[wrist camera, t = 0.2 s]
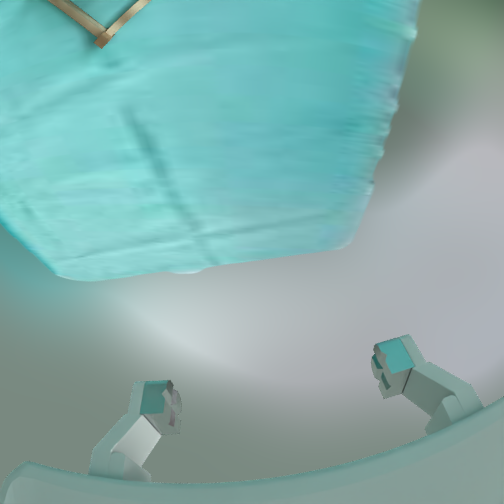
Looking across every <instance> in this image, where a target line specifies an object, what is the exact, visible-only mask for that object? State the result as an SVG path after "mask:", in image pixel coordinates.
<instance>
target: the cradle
mask: <svg viewBox="0 0 504 504" xmlns="http://www.w3.org/2000/svg"><path fill="white" fill-rule="evenodd" d="M48 1H49V2H51V3H52V4H53V5H55V6H56V7H58V8H59V9H60V10H62V11H63V12H64V13H66V14H67V15H68V16H70V17H71V18H72V19H74V20H75V21H76V22H78V23H79V24H80V25H82V26H83V27H84V28H86V29H87V30H88V31H90V32H91V33H92V34H93V35H95V36H96V37H97V39H96V41H95V42H94V43H95V44H96V45H97V46H99V47H100V48H101V49H102V48H103V47H104V46H105V45H106V44H107V43H108V42H109V41H110V39H111V38H112V37H113V36H114V35H115V33H116V32H117V31H118V30H119V29H120V28H121V27H122V26H123V25H124V24H125V23H126V22H127V21H128V20H129V19H130V18H131V17H132V16H133V15H135V14H136V13H137V12H138V11H139V10H140V9H141V8H143V7H144V6H145V5H146V4H147V3H148V2H150V1H151V0H139V1H138V2H136V3H135V4H134V5H133V6H132V7H131V8H130V9H129V10H128V11H126V12H125V13H124V14H123V15H122V16H121V17H120V18H119V19H118V20H117V21H116V22H115V23H114V24H113V25H112V26H111V27H110V28H109V29H108V28H107V29H106V28H105V27H103V26H102V25H101V24H100V23H98V22H97V21H96V20H94V19H93V18H92V17H91V16H89V15H88V14H87V13H85V12H84V11H83V10H82V9H80V8H79V7H78V6H76V5H75V4H74V3H72V2H71V1H70V0H48Z"/></svg>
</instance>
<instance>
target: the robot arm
mask: <svg viewBox="0 0 504 504" xmlns="http://www.w3.org/2000/svg"><path fill="white" fill-rule="evenodd" d="M373 350H374V353H375V354H374V355H373V356H372V361H371V365H372V371H373V374H374V377H375V378H376V379H378V380H379V381H380V383H379V389H380V391H381V393H382V396H383V398H384V399H385V398H389V397H392V396H395V395H399V394H402V395H404V396H405V397H406V398H408V399H409V400H410V401H412V402H413V403H414V404H416V405H417V406H418V407H420V408H421V409H422V410H423V411H425V412H426V413H427V414H429V415H430V416H431V417H432V418H431V419H430V421H429V422H428V424H427V426H426V427H425V430H426V433H427V436H425V437H423V438H420V439H418V440H415V441H413V442H410V443H407V444H405V445H402V446H399V447H397V448H394V449H391V450H388V451H385V452H382V453H379V454H376V455H373V456H369V457H367V458H363V459H359V460H356V461H352V462H348V463H345V464H341V465H337V466H333V467H329V468H324V469H319V470H315V471H310V472H305V473H299V474H294V475H288V476H281V477H275V478H267V479H259V480H250V481H239V482H225V483H197V484H196V483H195V484H183V483H182V484H181V483H178V484H177V483H153V482H151V475H150V473H148V472H147V471H146V470H144V469H143V468H141V466H142V464H143V463H144V461H145V460H146V458H147V457H148V455H149V453H150V452H151V451H152V449H153V447H154V446H155V445H156V443H157V442H158V440H159V439H160V437H161V435H166V434H180V425H181V420H180V419H179V417H178V415H179V413H180V412H181V411H182V403H181V398H180V395H179V393H178V391H176V390H175V389H173V383H172V382H171V380H163V381H140V382H135V384H134V385H133V389H132V394H131V399H130V404H129V410H128V414H126V415H124V416H123V417H122V418H121V419H120V420H119V421H118V422H117V423H116V424H115V426H114V427H113V428H112V429H111V430H110V431H109V432H108V433H107V435H106V436H105V437H104V438H103V439H102V440H101V441H100V442H99V443H98V444H97V445H96V447H95V448H94V449H93V452H92V457H91V462H90V468H89V473H88V475H86V474H81V473H75V472H70V471H66V470H61V469H57V468H53V467H49V466H45V465H41V464H38V463H34V462H30V461H25V462H23V463H22V464H20V465H19V466H18V467H17V468H15V469H14V470H13V471H12V472H11V473H10V474H9V475H8V476H7V477H6V479H5V480H4V482H3V484H2V487H1V489H0V504H504V396H503V397H502V398H500V399H498V400H497V401H495V402H493V403H492V404H490V405H488V406H486V407H485V408H484V407H483V405H482V403H481V401H480V399H479V398H478V396H477V394H476V392H475V390H474V389H473V387H472V386H471V384H469V383H467V382H465V381H463V380H461V379H460V378H458V377H456V376H454V375H452V374H451V373H449V372H447V371H445V370H443V369H442V368H440V367H438V366H436V365H434V364H432V363H431V362H427V363H426V361H425V359H424V357H423V356H422V354H421V352H420V350H419V349H418V347H417V345H416V344H415V342H414V340H413V339H412V337H411V336H410V335H409V334H408V335H404V336H401V337H398V338H393V339H390V340H387V341H384V342H380V343H377V344H375V345H374V349H373Z"/></svg>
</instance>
